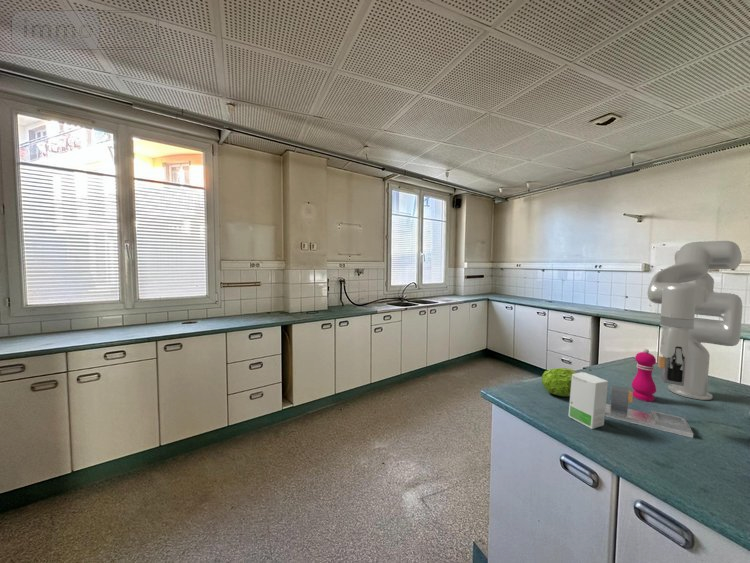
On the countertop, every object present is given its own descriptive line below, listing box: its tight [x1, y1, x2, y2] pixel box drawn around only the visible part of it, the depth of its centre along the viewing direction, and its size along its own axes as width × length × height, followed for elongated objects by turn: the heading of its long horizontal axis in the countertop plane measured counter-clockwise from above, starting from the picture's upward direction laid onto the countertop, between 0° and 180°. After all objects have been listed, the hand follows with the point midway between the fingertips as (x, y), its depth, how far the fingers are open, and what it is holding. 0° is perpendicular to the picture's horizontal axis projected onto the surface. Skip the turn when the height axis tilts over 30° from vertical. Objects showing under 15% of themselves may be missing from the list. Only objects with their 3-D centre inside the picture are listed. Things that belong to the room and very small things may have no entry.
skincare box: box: [568, 371, 609, 430], centre depth 99 cm, size 8×7×16 cm
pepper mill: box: [631, 348, 657, 402], centre depth 116 cm, size 7×7×20 cm
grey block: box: [657, 355, 685, 386], centre depth 95 cm, size 6×4×8 cm
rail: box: [605, 384, 694, 439], centre depth 99 cm, size 8×22×10 cm, turn 54°
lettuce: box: [541, 367, 578, 397], centre depth 123 cm, size 12×24×13 cm
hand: (672, 378), depth 94 cm, fingers closed on grey block, 4 cm apart
